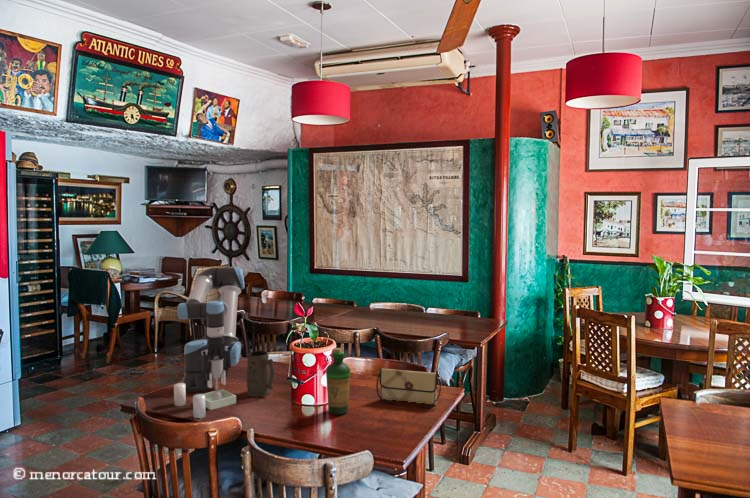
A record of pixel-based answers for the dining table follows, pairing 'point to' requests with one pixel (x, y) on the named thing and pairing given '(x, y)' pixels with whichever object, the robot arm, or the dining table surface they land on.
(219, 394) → the chalice
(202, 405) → the pillar candle
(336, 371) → the bottle
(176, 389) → the white upright cylinder
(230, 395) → the tray
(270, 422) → the dining table surface
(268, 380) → the beer stein
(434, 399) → the clutch purse
